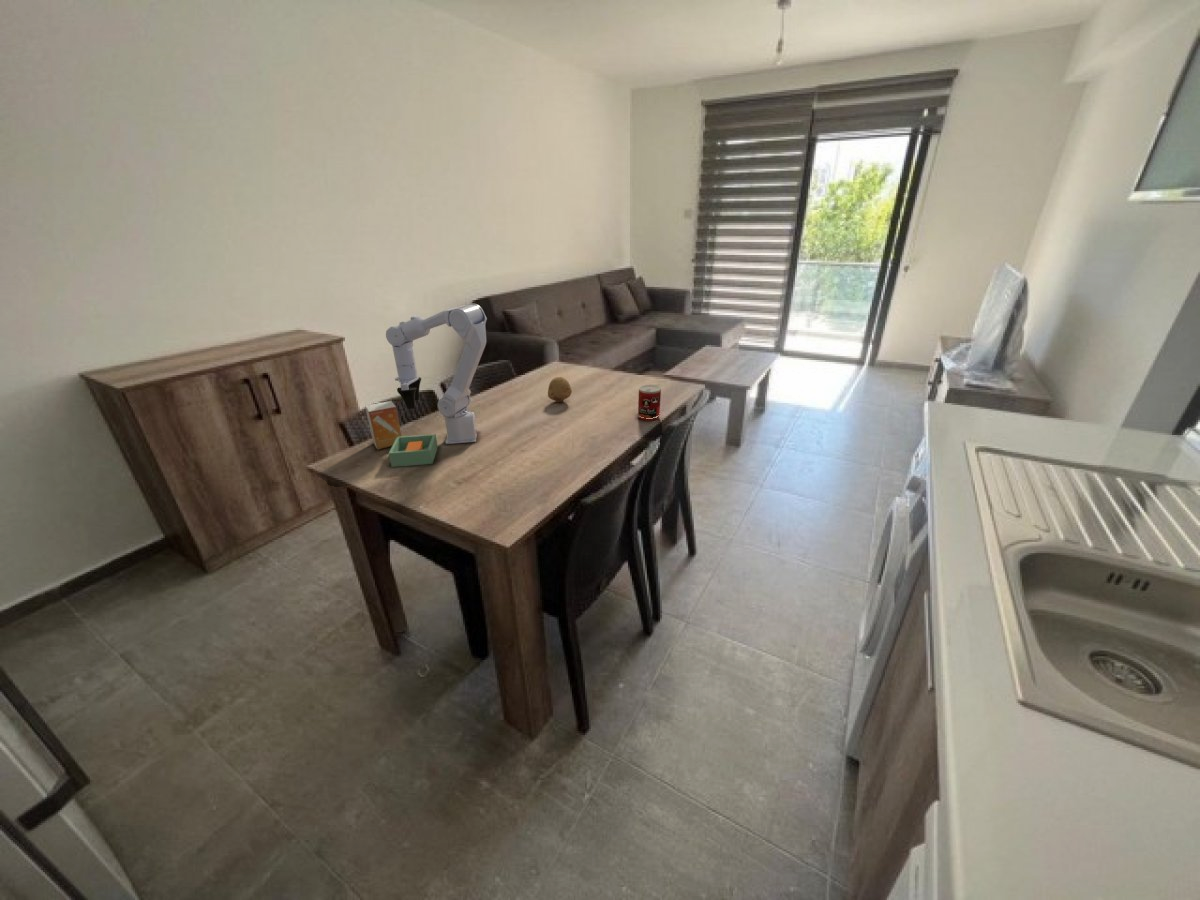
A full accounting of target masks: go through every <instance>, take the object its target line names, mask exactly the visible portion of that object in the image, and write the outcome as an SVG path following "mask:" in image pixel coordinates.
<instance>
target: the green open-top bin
mask: <svg viewBox="0 0 1200 900" xmlns="http://www.w3.org/2000/svg"><path fill="white" fill-rule="evenodd" d="M416 441H422V442H423V447H424V450H412V451H405V450H406V448H407V445H408V443H409V442H416ZM438 448H439V445H438V439H437V435H436V433H431V434H419V435H418V434H417V435H415V434H414V435H402V436H401V437H397V438H396V440H395V442H394V444H393V446H391V447H390V449H389V451H388V459H389V462H390V467H391V468H394V467H395V468H396V467H409V466H422V465H423V466H424V465H433V464H434V461H435V458H436V454H437V452H438Z"/></svg>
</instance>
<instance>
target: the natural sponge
mask: <svg viewBox="0 0 1200 900" xmlns="http://www.w3.org/2000/svg"><path fill="white" fill-rule="evenodd" d="M572 392H573V391H572V388H571V384H570V382H569V381H568V380H567V379H566V378H565V377H563V376H555V377H553V378H552V379H551V380H550V382H549V385H548V389H547V397H548V399H550V400H552V401H554V402H557V403H562V402H564V400H566V399H568V398H570V397H571V395H572Z"/></svg>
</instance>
